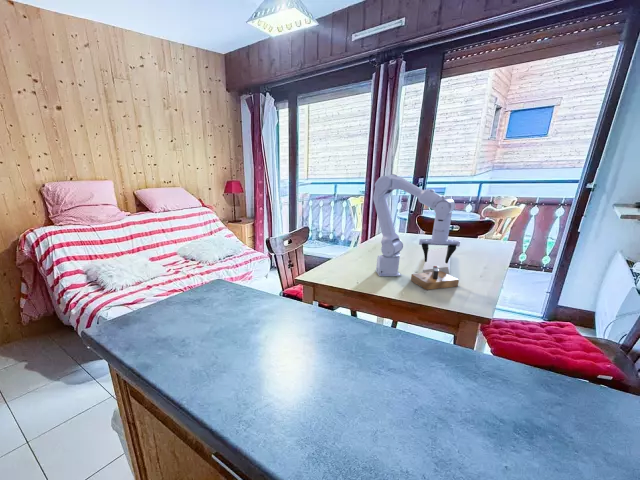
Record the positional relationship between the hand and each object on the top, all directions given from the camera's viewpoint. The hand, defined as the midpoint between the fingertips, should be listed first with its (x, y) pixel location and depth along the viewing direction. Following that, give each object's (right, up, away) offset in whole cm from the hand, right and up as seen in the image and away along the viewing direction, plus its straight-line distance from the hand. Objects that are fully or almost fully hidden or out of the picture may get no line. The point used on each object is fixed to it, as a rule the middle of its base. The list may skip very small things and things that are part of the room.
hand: (435, 261), depth 136 cm
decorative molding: (+14, 0, +23) cm, 27 cm away
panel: (0, -9, +2) cm, 9 cm away
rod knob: (0, -6, +1) cm, 6 cm away
